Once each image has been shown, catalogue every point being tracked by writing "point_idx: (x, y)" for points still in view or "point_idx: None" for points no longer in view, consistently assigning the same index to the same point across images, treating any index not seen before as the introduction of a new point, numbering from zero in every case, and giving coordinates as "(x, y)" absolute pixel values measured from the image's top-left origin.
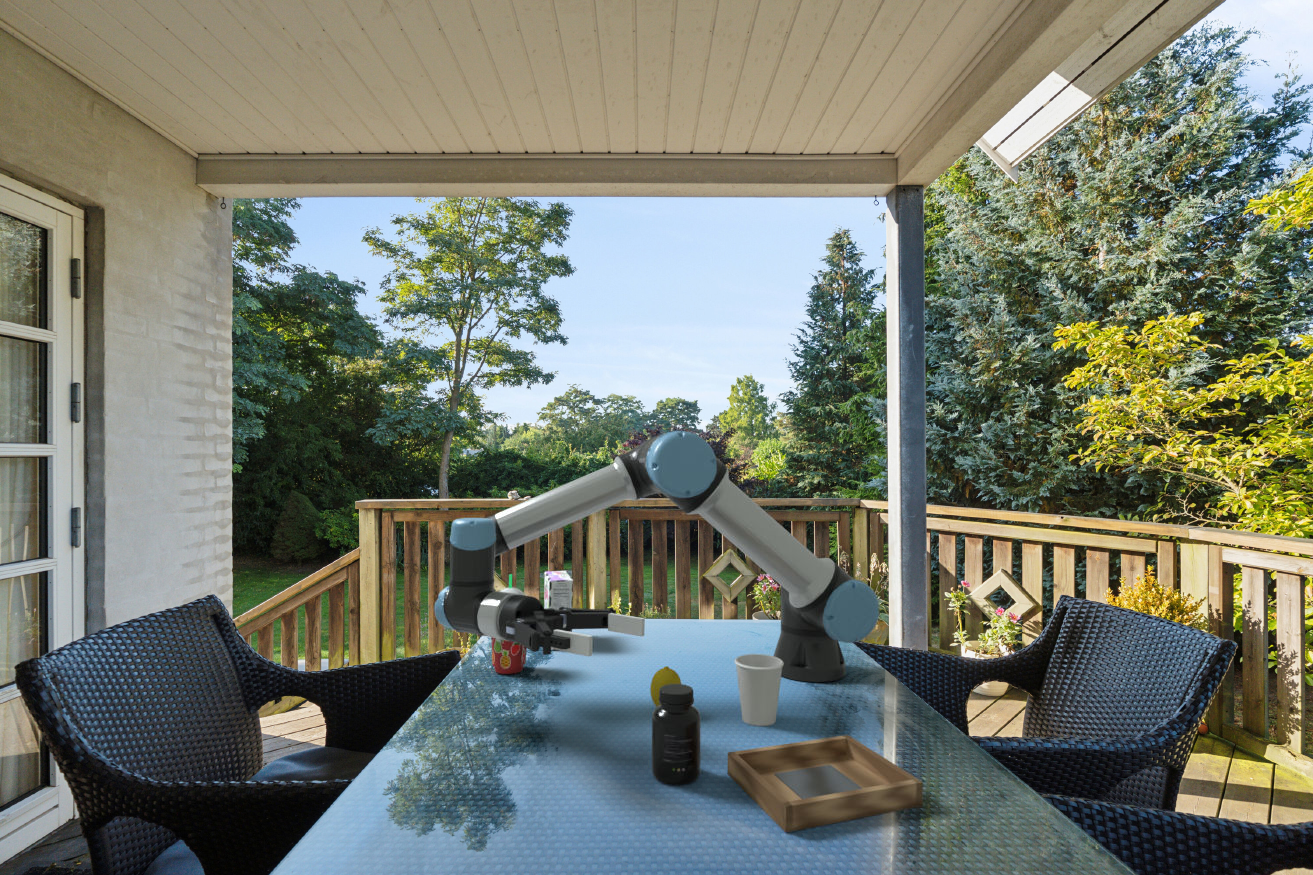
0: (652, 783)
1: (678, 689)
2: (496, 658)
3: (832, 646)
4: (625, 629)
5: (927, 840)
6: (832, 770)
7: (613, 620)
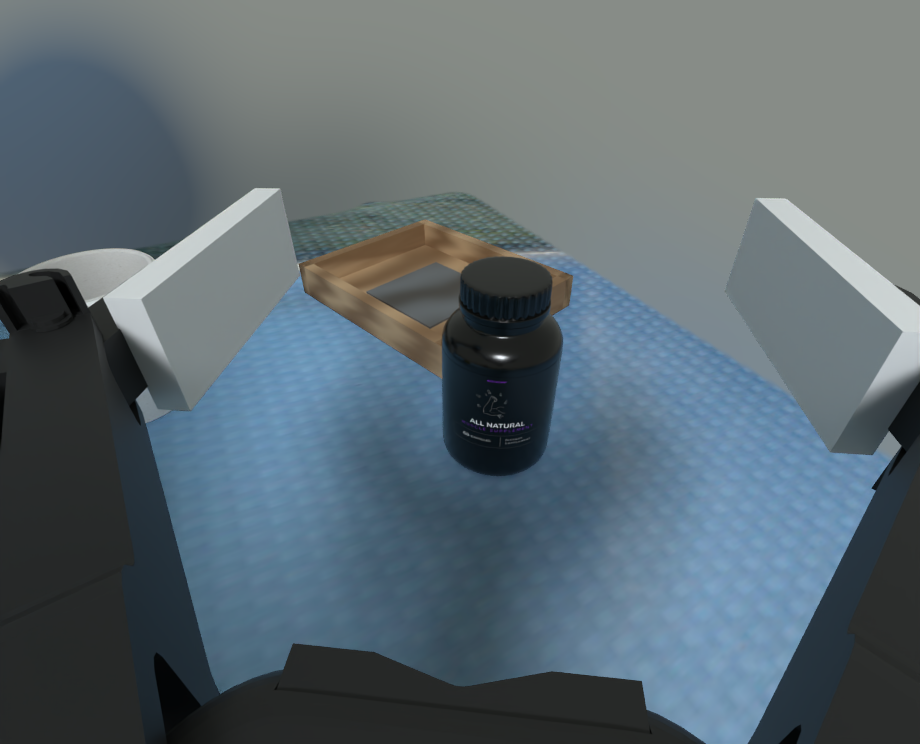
0: (555, 461)
1: (505, 272)
2: None
3: None
4: (250, 306)
5: (497, 240)
6: (385, 288)
7: (187, 316)
